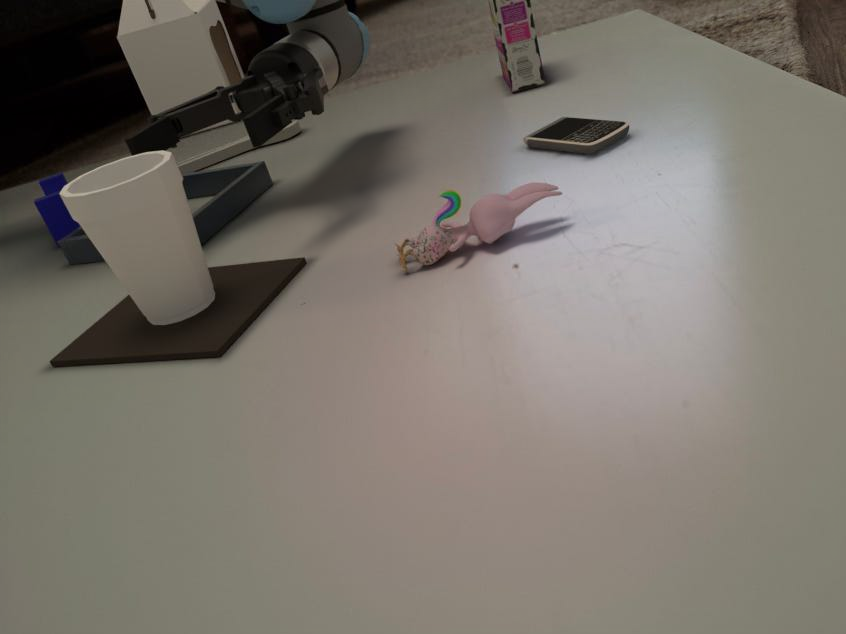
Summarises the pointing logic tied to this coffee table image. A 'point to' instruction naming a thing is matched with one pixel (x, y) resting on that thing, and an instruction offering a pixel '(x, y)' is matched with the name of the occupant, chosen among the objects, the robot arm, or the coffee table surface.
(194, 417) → the coffee table surface
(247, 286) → the mat
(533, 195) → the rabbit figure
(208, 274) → the foam cup
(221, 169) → the tray
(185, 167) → the adjustable wrench
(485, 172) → the coffee table surface
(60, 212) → the cable clip
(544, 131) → the cell phone
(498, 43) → the candy bar box
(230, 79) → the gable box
